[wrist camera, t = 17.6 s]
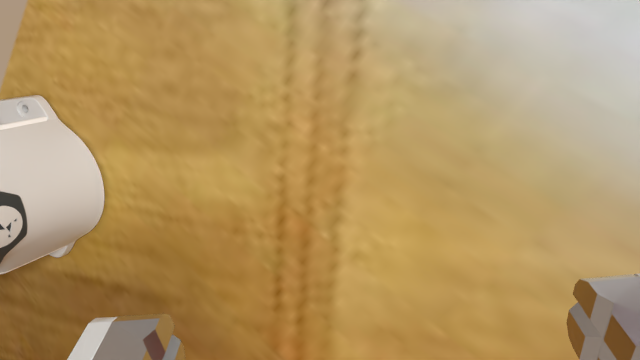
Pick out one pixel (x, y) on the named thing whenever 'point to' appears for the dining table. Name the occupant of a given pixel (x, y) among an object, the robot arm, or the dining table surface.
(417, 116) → the dining table surface
